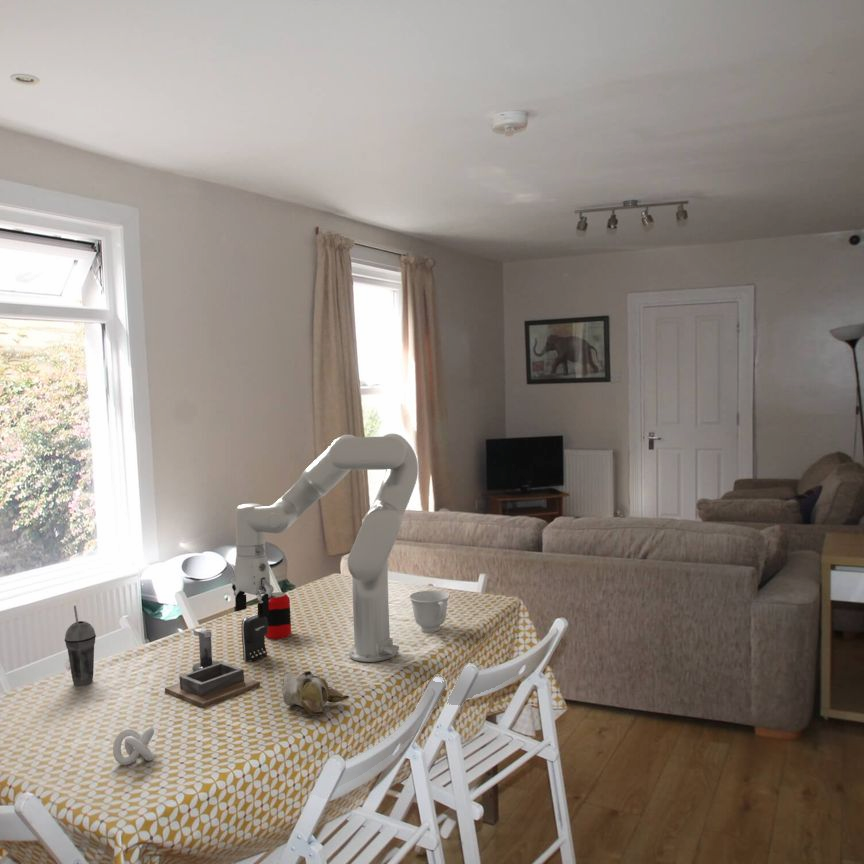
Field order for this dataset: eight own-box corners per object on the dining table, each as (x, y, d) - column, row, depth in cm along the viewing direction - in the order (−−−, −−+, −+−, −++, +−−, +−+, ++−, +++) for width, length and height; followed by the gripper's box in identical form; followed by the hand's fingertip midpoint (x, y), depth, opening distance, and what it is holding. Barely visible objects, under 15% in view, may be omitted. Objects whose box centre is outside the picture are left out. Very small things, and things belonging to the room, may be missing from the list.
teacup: (426, 641, 223) (424, 606, 222) (403, 627, 236) (402, 594, 235) (463, 633, 228) (462, 599, 228) (439, 620, 242) (438, 588, 241)
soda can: (259, 637, 231) (257, 597, 230) (274, 630, 238) (272, 590, 237) (282, 640, 228) (280, 599, 227) (296, 632, 235) (294, 592, 234)
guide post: (226, 668, 207) (224, 630, 206) (202, 676, 201) (200, 637, 201) (210, 662, 211) (208, 625, 211) (187, 670, 206) (185, 632, 205)
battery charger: (252, 663, 210) (249, 620, 209) (242, 660, 212) (240, 618, 211) (271, 655, 215) (269, 613, 215) (261, 653, 218) (259, 612, 217)
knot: (134, 748, 162) (132, 720, 162) (167, 752, 160) (166, 723, 160) (109, 765, 155) (107, 736, 155) (143, 769, 153) (142, 740, 152)
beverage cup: (105, 678, 202) (100, 601, 201) (84, 689, 195) (79, 609, 194) (82, 676, 204) (77, 599, 203) (60, 686, 198) (55, 607, 196)
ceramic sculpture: (299, 657, 187) (351, 671, 179) (300, 692, 188) (351, 708, 180) (268, 672, 178) (321, 688, 170) (269, 709, 179) (321, 726, 171)
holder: (259, 685, 193) (259, 669, 193) (203, 707, 181) (202, 690, 181) (221, 672, 204) (220, 656, 204) (165, 691, 192) (164, 675, 191)
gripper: (282, 552, 209) (283, 616, 210) (242, 543, 220) (244, 604, 221) (259, 557, 203) (260, 622, 204) (219, 548, 214) (221, 610, 216)
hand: (252, 613), depth 213 cm, fingers open, 9 cm apart
